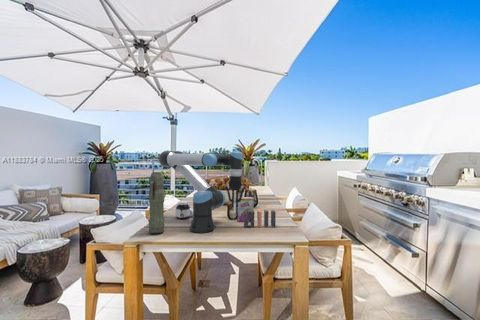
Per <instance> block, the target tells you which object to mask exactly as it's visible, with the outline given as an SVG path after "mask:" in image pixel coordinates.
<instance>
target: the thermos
mask: <svg viewBox="0 0 480 320" xmlns="http://www.w3.org/2000/svg"><path fill="white" fill-rule="evenodd" d="M164 178H165V177H164V174H163V173H162V172H159V171H158V172H157V171H153V172H151V174H150V177H149V192H148V203H149V218H148V233H150V234H160V233H163V232H164V231H165V218H164V217H165V216H164V212H165V210H164V209H165V208H164V206H165V205H164V204H165V191H164V190H165V189H164Z"/></svg>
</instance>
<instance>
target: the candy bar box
mask: <svg viewBox="0 0 480 320" xmlns="http://www.w3.org/2000/svg"><path fill="white" fill-rule="evenodd" d="M239 197H240V196H238V199H239ZM254 201H255V199H254V197H247V196H246V197H245V196H242V198H241V201H240V202H238V207H236V213H237V215H236V217H237V218H236V221H237V222H244V221H245V218H246V214H247V210H250V211H251V210H254ZM250 217H251V215H250ZM249 223H250V219H249Z"/></svg>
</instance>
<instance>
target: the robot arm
mask: <svg viewBox="0 0 480 320" xmlns="http://www.w3.org/2000/svg"><path fill="white" fill-rule="evenodd" d="M158 163H159V164H160V166H162V167H164V168H172V169H173V170H174V171H175V172H177V173H180V174H181V175H182V177H184V178H185V180H186V181H187V182H188V183H189V184H190V185H191V186H192V188H194V189H195V190H196V191H195V192H194V193H193V198H192V209H193V217H192V219H191V222H190V226H189V231H190V232H192V233H197V234H205V233H209V232H213V231H214V230H215V229H216V227H215V222H214V219H213V210H215V209H220V208H221V207H223V205H224V204H225V201H226V196H225V193H224V192H223V191H222V190H219V189H217V188H215V186H213V185H210V184H209V183H208V182H207V181H206V180H205V179H204V178H203V177H202V176H201V175H200V173H198V172H197V171H196V170H195V169H194V168H193V167H192V166H194V167H195V166H197V167H204V166H205V167H221V166H223V167H229V183H228V185H225V189H226V192H227V196H228V200H229V202H231V208H232V209H233V210H232V212H233V214H236V213H237V207H238V202H240V201H241V198H242V197H243V194H244V190H245V189H246V187H245V186H244V185H243V183H242V170H243V166H242V165H243V153H242V151H231V152H230V154H225V153H224V154H223V153H185V152H184V151H180V150H176V151H175V150H165V151H162V152H161V153H160V154H159V155H158ZM240 189H241V190H240ZM230 190H232V191H231V193H230ZM239 190H240V194H239ZM238 197H239V199H238Z"/></svg>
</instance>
